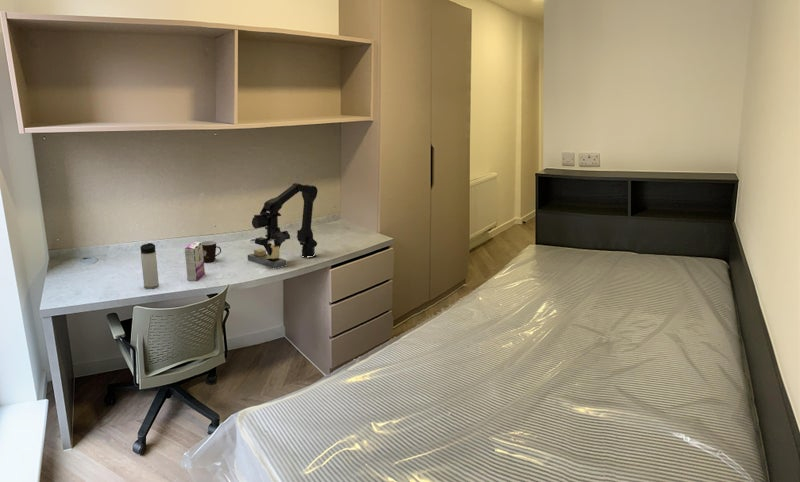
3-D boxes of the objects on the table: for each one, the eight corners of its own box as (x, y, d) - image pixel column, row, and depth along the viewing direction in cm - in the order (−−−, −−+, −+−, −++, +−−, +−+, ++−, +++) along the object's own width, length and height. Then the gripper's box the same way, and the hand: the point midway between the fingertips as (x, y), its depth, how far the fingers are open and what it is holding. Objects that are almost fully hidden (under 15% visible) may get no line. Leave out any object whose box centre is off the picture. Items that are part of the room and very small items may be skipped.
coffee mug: (197, 260, 308) (196, 242, 306) (212, 257, 314) (211, 239, 312) (208, 265, 300) (206, 247, 298) (223, 262, 306) (222, 244, 304)
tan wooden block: (274, 255, 306) (273, 244, 305) (279, 257, 304) (279, 246, 302) (267, 257, 303) (266, 246, 301) (272, 259, 300) (272, 247, 299)
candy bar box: (195, 273, 288) (192, 241, 284) (205, 273, 288) (202, 241, 284) (186, 281, 277) (184, 247, 273) (197, 281, 277) (194, 248, 273)
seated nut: (261, 259, 314) (260, 248, 312) (266, 260, 311) (265, 250, 310) (254, 260, 311) (253, 250, 309) (259, 262, 308) (259, 251, 306)
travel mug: (161, 284, 272) (157, 242, 267) (155, 289, 266) (152, 246, 261) (147, 284, 272) (143, 242, 267) (141, 288, 266) (137, 246, 260)
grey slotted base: (260, 257, 317) (259, 251, 317) (286, 265, 304) (286, 260, 303) (247, 260, 311) (247, 254, 311) (274, 269, 298) (274, 263, 297)
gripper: (267, 231, 287) (268, 261, 291) (296, 224, 301) (297, 253, 305) (253, 227, 294) (254, 257, 298) (282, 221, 308) (283, 249, 312)
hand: (273, 254), depth 303 cm, fingers closed on tan wooden block, 4 cm apart
